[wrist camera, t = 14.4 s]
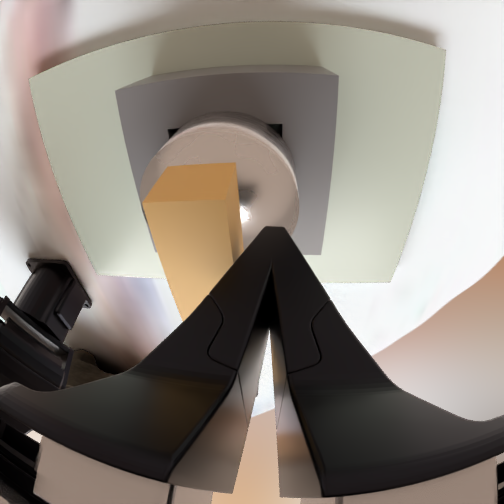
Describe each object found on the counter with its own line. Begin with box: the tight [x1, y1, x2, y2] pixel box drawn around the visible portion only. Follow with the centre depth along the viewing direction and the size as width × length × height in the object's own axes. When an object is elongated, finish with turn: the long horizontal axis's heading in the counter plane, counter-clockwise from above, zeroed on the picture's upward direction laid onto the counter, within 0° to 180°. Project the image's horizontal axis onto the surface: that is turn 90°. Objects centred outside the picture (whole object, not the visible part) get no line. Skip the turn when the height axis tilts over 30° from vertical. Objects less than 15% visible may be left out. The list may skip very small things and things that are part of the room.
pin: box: [140, 111, 299, 250], centre depth 12 cm, size 6×6×6 cm
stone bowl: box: [65, 350, 114, 389], centre depth 38 cm, size 25×25×9 cm
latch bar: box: [142, 162, 259, 397], centre depth 11 cm, size 12×3×2 cm, turn 3°
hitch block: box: [29, 21, 446, 283], centre depth 14 cm, size 24×17×8 cm
